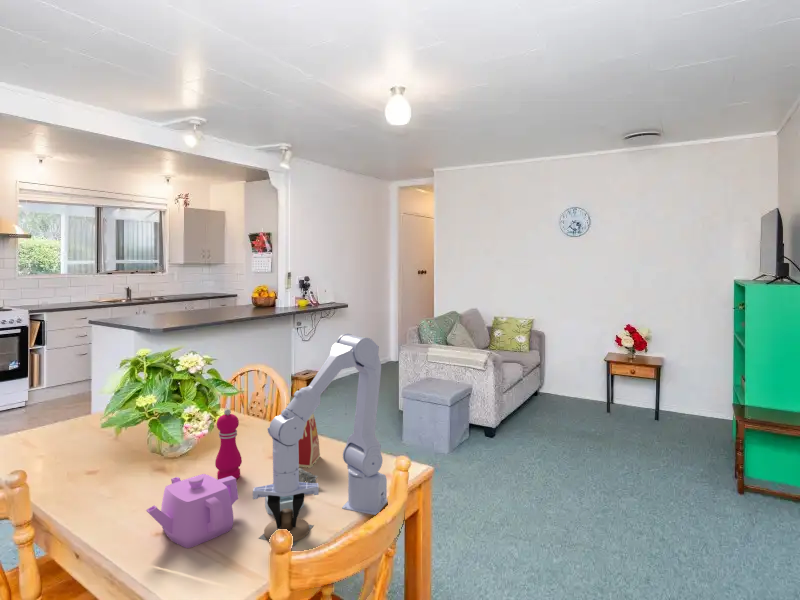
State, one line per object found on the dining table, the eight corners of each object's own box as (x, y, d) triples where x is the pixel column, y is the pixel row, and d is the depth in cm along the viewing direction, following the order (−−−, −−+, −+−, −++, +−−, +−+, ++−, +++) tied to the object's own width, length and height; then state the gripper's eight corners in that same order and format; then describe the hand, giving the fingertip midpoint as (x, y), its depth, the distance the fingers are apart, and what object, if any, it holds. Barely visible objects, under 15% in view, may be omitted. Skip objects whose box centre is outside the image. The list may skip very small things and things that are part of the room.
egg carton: (275, 485, 138) (274, 471, 138) (297, 477, 144) (297, 463, 143) (297, 497, 131) (297, 482, 131) (320, 488, 136) (320, 474, 136)
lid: (316, 524, 116) (316, 505, 116) (294, 547, 107) (293, 526, 107) (280, 517, 120) (280, 498, 119) (255, 538, 110) (254, 518, 110)
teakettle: (224, 549, 107) (223, 494, 106) (143, 552, 106) (141, 496, 105) (243, 510, 124) (242, 462, 123) (173, 512, 123) (172, 464, 122)
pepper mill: (233, 483, 139) (232, 413, 137) (210, 481, 140) (208, 412, 139) (246, 472, 146) (245, 406, 144) (224, 470, 147) (222, 404, 146)
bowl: (309, 502, 128) (309, 489, 128) (290, 519, 119) (290, 505, 119) (279, 496, 131) (279, 484, 131) (258, 513, 122) (258, 499, 122)
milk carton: (320, 456, 158) (319, 395, 157) (312, 468, 149) (311, 403, 148) (292, 455, 159) (291, 394, 158) (282, 466, 150) (282, 402, 149)
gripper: (318, 459, 117) (318, 514, 118) (255, 463, 115) (256, 519, 116) (318, 471, 110) (318, 530, 111) (251, 476, 108) (252, 535, 109)
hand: (286, 525), depth 113 cm, fingers closed on lid, 3 cm apart
